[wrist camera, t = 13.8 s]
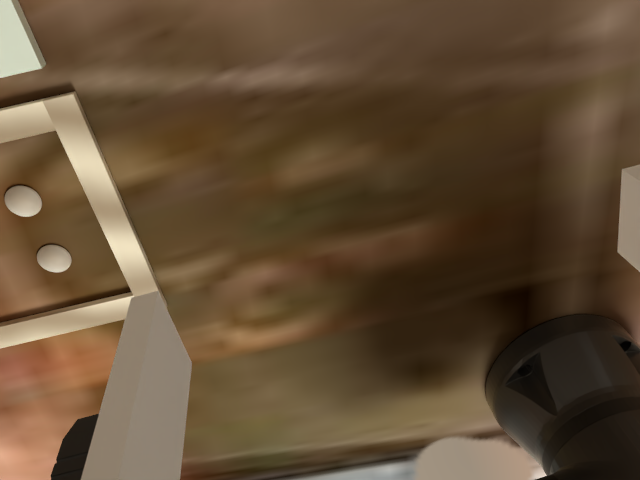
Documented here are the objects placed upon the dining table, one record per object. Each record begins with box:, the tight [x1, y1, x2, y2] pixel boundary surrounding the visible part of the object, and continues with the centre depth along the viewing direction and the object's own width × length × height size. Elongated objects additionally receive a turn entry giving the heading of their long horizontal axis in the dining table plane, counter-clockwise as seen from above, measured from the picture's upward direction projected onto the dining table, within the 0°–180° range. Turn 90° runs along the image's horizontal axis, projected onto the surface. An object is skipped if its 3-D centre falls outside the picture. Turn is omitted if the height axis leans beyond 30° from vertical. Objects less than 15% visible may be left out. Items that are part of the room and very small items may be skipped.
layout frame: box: [0, 91, 167, 348], centre depth 41 cm, size 18×17×1 cm
